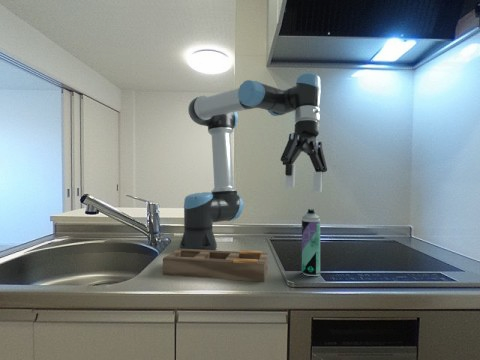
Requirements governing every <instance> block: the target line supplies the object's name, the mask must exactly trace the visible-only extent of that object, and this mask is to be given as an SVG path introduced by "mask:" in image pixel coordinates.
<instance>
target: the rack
mask: <svg viewBox="0 0 480 360" xmlns="http://www.w3.org/2000/svg"><path fill="white" fill-rule="evenodd" d="M268 269H269V253H268V252H263V251H262V250H243V249H240V251H235V250H217V249H216V250H197V249H180V248H177V249H176V250H174V251H172V252H171V253H169V254H167V255H165V256H164V257H163V258H162V275H164V276H176V277H178V276H179V277H189V278H190V277H191V278H203V279H205V278H207V279H221V280H233V281H245V282H246V281H247V282H249V281H250V282H262V283H263V282H265V280H266V277H267V273H268Z"/></svg>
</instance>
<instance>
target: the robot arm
mask: <svg viewBox="0 0 480 360" xmlns="http://www.w3.org/2000/svg"><path fill="white" fill-rule="evenodd" d="M321 89H322V88H321V78H320V76H319V75H317V74H315V73H311V72H307V73H306V72H305V73H302V74H300V75H299V76H298V77H297V78H296V83H295V85H294V86H292V87H291V88H287V89H280V88H277V87H274V86H271V85H267V84H265V83H262V82H260V81H257V80H250V79H249V80H248V79H247V80H244V81H243V83H241V84H240V85H239V87H238V88H235V89H231V90H227V91H224V92H221V93H217V94H214V95H209V96H206V95H200V96H197V97H195V98H193V99H192V100H191V101H190V103H189V105H188V115H189V117H190V119H191V120H192V121H193V122H194V123H196V124H198V125H199V126H204V127H207V133H208V134H210V135H211V149H212V167H213V186H214V187H213V189H212V190H211V192H210V191H209V192H208V191H207V192H205V191H204V192H195V193H192V194H191V193H190V194H188V195H187V196H185V197H184V201H183V203H184V204H183V211H184V212H183V218H184V219H183V221H184V222H183V224H184V225H183V226H184V227H183V228H184V229H183V234H182V237H181V240H180V244H179V249H197V250H215V249H216V248H218V247H217V246H218V245H217V240H216V237H215V234H214V230H213V225H214V224H213V223H219V222H220V223H221V222H230V221H235V220H237V219H239V218H240V216H241V215H242V213H243V210H244V201H243V198H242V197H241V195H240V194H238V190H237V189H236V187H235V186H234V175H233V173H234V172H233V157H232V142H231V140H232V138H231V135H232V133H233V132H234V129H235V128H236V127H237V125H238V124H237V123H238V121H239V114H238V112H241V111H247V110H253V109H261V110H266V111H267V112H268V113H269V114H270V115H271V116H272V117H277V116H283V115H286V114H289V113H291V112H294V122H295V124H294V132H291V133H289V134H288V141H287V143H286V145H285V147H284V150H283V153H282V154H281V156H280V161H281V162H282V165H283V166H285V168H284V169H285V173H284V174H285V188H295V187H296V186H295V183H296V182H295V180H296V164H294V163H295V161H296V160H297V159H298V158H299V156H300V154H301V153H302V152H303V153H305V154H306V155H307V156H309V160H310V162H311V163H312V167H313V168H314V172H313V188H312V189H313V190H312V192H313V193H322V192H323V175H324V173H326V172H327V171H328V167H327V162H326V158H325V154H324V149H323V141H317V140H316V138H317V136H318V135H319V134H320V123H319V122H320V110H321V109H320V107H321V106H320V103H321V102H320V101H321V91H322V90H321ZM216 250H217V249H216Z"/></svg>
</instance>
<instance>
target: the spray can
mask: <svg viewBox="0 0 480 360" xmlns="http://www.w3.org/2000/svg"><path fill="white" fill-rule="evenodd" d="M320 218H321V216H319V215H318V214H317V213H316V212H315V209H314V208H308V209H307V212H306V213H305V214H304V215H303V216H302V219H301V274H302V273H303V274H304V275H307V276H318V277H320V276H321V219H320ZM303 274H302V275H303ZM304 275H303V276H304ZM319 275H320V276H319ZM307 276H306V277H307Z"/></svg>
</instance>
